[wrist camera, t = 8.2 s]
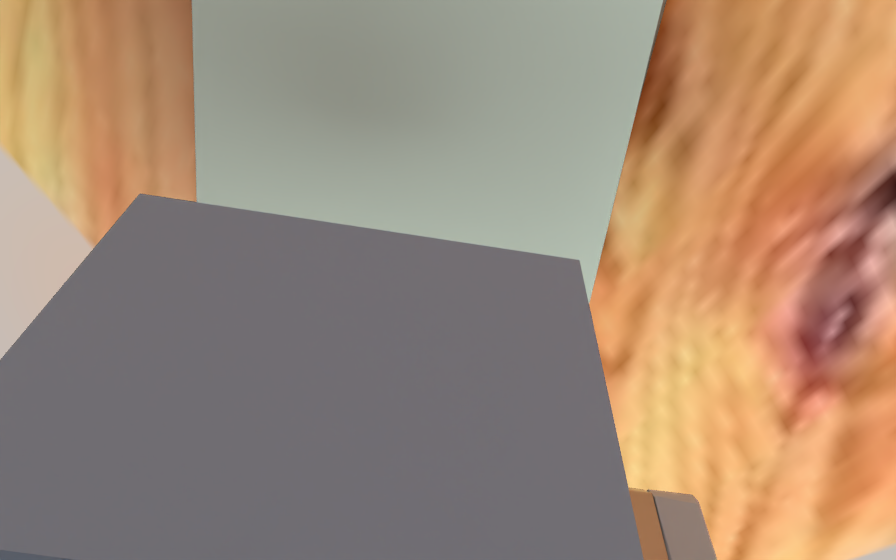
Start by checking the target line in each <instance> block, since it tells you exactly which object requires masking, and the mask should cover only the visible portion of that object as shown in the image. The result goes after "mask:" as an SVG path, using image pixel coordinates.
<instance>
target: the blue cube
mask: <svg viewBox="0 0 896 560" xmlns="http://www.w3.org/2000/svg"><path fill="white" fill-rule="evenodd" d="M0 560H644V559H643V554H642V549H641V545H640V540H639V535H638V531H637V526H636V521H635V517H634V512H633V507H632V503H631V498H630V493H629V489H628V484H627V479H626V475H625V470H624V465H623V461H622V456H621V452H620V447H619V442H618V438H617V433H616V428H615V424H614V419H613V414H612V410H611V405H610V400H609V396H608V391H607V386H606V382H605V377H604V372H603V368H602V363H601V358H600V354H599V349H598V344H597V340H596V335H595V330H594V326H593V321H592V316H591V312H590V307H589V302H588V298H587V293H586V288H585V284H584V279H583V274H582V270H581V265H580V260H576V259H570V258H563V257H556V256H550V255H543V254H536V253H530V252H523V251H517V250H510V249H503V248H497V247H490V246H483V245H477V244H470V243H464V242H457V241H450V240H444V239H437V238H430V237H424V236H417V235H411V234H404V233H397V232H391V231H384V230H378V229H371V228H364V227H358V226H351V225H344V224H338V223H331V222H325V221H318V220H311V219H305V218H298V217H291V216H285V215H278V214H272V213H265V212H258V211H252V210H245V209H238V208H232V207H225V206H219V205H212V204H205V203H199V202H192V201H185V200H179V199H172V198H166V197H159V196H152V195H146V194H139V195H138V196H137V198H136V199H135V200H134V201H133V202H132V203H131V205H130V206H129V207H128V208H127V209H126V211H125V212H124V213H123V214H122V215H121V217H120V218H119V219H118V220H117V221H116V223H115V224H114V225H113V226H112V227H111V229H110V230H109V231H108V232H107V233H106V234H105V236H104V237H103V238H102V239H101V240H100V242H99V243H98V244H97V245H96V246H95V248H94V249H93V250H92V251H91V252H90V254H89V255H88V256H87V257H86V258H85V260H84V261H83V262H82V263H81V264H80V266H79V267H78V268H77V269H76V270H75V271H74V273H73V274H72V275H71V276H70V277H69V279H68V280H67V281H66V282H65V283H64V285H63V286H62V287H61V288H60V289H59V291H58V292H57V293H56V294H55V295H54V296H53V298H52V299H51V300H50V301H49V302H48V304H47V305H46V306H45V307H44V308H43V310H42V311H41V312H40V313H39V314H38V316H37V317H36V318H35V319H34V320H33V322H32V323H31V324H30V325H29V326H28V327H27V329H26V330H25V331H24V332H23V333H22V335H21V336H20V337H19V338H18V339H17V341H16V342H15V343H14V344H13V345H12V347H11V348H10V349H9V350H8V351H7V352H6V354H5V355H4V356H3V358H1V360H0Z"/></svg>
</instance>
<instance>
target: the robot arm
mask: <svg viewBox="0 0 896 560" xmlns="http://www.w3.org/2000/svg"><path fill="white" fill-rule="evenodd" d="M628 489H629V493H630V498H631V503H632V507H633V512H634V517H635V521H636V526H637V531H638V535H639V540H640V545H641V549H642V554H643V559H644V560H717V557H716V554H715V551H714V548H713V545H712V542H711V539H710V535H709V532H708V529H707V526H706V523H705V520H704V517H703V514H702V510H701V507H700V504H699V502H698V500H697V499H696V498H695V497H694V496H693V495H690V494H682V493H673V492H665V491H657V490H647V491H645V490H643V489H635V488H628Z"/></svg>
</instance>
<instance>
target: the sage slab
mask: <svg viewBox="0 0 896 560" xmlns="http://www.w3.org/2000/svg"><path fill="white" fill-rule="evenodd" d="M662 3H663V0H192V29H193V70H194V112H195V153H196V195H197V202H199V203H205V204H212V205H219V206H225V207H232V208H238V209H245V210H252V211H258V212H265V213H272V214H278V215H285V216H291V217H298V218H305V219H311V220H318V221H325V222H331V223H338V224H344V225H351V226H358V227H364V228H371V229H378V230H384V231H391V232H397V233H404V234H411V235H417V236H424V237H430V238H437V239H444V240H450V241H457V242H464V243H470V244H477V245H483V246H490V247H497V248H503V249H510V250H517V251H523V252H530V253H536V254H543V255H550V256H556V257H563V258H570V259H576V260H580V265H581V270H582V274H583V279H584V284H585V288H586V293H587V298H588V302H590V298H591V294H592V290H593V286H594V282H595V278H596V274H597V269H598V265H599V261H600V257H601V253H602V249H603V245H604V241H605V237H606V233H607V228H608V224H609V220H610V216H611V212H612V208H613V204H614V200H615V196H616V192H617V188H618V183H619V179H620V175H621V171H622V167H623V163H624V159H625V155H626V151H627V147H628V142H629V138H630V134H631V130H632V126H633V122H634V118H635V114H636V110H637V106H638V101H639V97H640V93H641V89H642V85H643V81H644V77H645V73H646V69H647V65H648V61H649V56H650V52H651V48H652V44H653V40H654V36H655V32H656V28H657V24H658V20H659V15H660V11H661V7H662Z"/></svg>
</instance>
